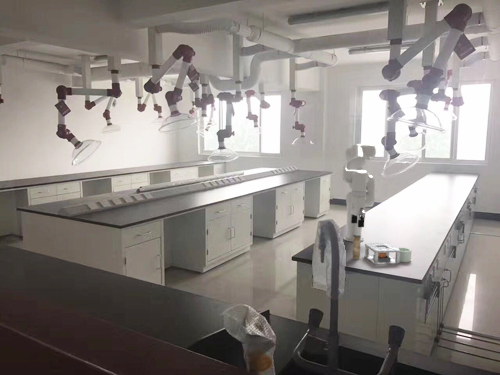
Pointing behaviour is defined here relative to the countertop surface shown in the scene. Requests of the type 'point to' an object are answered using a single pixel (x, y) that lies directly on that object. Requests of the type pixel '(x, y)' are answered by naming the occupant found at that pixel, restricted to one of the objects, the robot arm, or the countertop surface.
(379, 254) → the breaker plunger
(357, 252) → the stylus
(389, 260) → the breaker guard
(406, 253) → the holder
